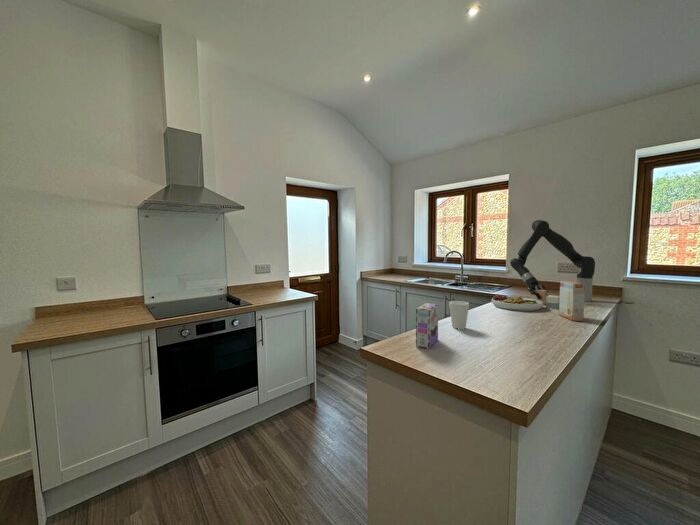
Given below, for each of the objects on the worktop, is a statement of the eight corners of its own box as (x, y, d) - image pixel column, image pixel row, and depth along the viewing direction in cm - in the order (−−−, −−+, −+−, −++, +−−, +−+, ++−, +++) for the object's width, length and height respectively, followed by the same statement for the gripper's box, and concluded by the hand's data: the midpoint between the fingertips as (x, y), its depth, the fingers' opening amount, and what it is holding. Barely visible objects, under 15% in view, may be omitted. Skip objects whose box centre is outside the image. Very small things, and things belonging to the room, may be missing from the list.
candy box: (429, 349, 117) (429, 309, 116) (415, 346, 120) (415, 308, 119) (438, 340, 128) (438, 303, 128) (425, 337, 132) (425, 302, 131)
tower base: (548, 306, 195) (549, 301, 195) (559, 308, 191) (559, 302, 191) (546, 308, 191) (546, 302, 191) (556, 309, 187) (557, 303, 187)
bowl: (546, 306, 196) (546, 295, 196) (537, 314, 174) (537, 301, 174) (498, 301, 217) (499, 291, 216) (485, 308, 195) (485, 296, 194)
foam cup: (448, 329, 145) (448, 303, 144) (449, 324, 153) (449, 300, 152) (469, 331, 141) (469, 305, 140) (468, 326, 150) (468, 301, 149)
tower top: (548, 301, 195) (548, 295, 195) (559, 302, 191) (559, 296, 191) (546, 302, 191) (546, 296, 191) (557, 303, 187) (557, 297, 187)
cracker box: (584, 321, 156) (585, 283, 155) (571, 321, 157) (572, 283, 156) (570, 315, 170) (571, 280, 169) (558, 315, 171) (559, 280, 170)
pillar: (539, 303, 207) (539, 289, 206) (546, 304, 203) (546, 290, 203) (537, 304, 204) (537, 290, 203) (544, 305, 201) (544, 290, 200)
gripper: (525, 276, 208) (539, 295, 197) (540, 276, 212) (555, 294, 201) (518, 283, 213) (532, 302, 203) (534, 282, 217) (548, 300, 206)
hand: (544, 298), depth 202 cm, fingers closed on pillar, 6 cm apart
